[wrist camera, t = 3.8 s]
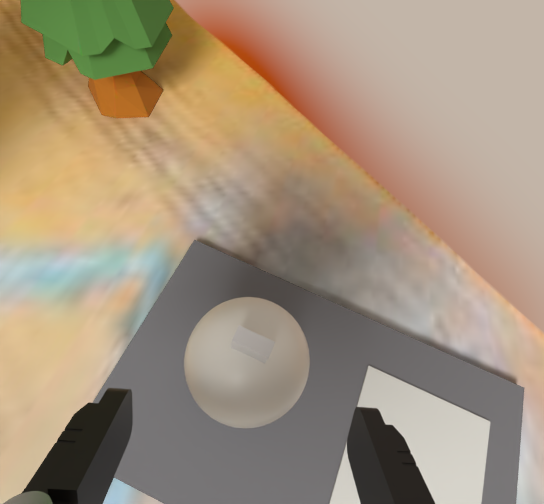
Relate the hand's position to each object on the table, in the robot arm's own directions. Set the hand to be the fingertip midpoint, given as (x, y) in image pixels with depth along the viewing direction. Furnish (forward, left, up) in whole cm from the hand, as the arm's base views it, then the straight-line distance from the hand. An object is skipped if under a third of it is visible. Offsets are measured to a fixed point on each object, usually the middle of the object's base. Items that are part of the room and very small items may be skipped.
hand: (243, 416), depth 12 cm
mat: (+4, +2, -9) cm, 10 cm away
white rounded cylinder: (-1, +2, -8) cm, 8 cm away
